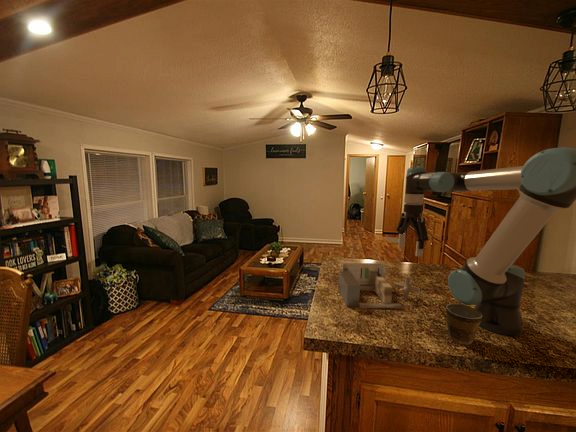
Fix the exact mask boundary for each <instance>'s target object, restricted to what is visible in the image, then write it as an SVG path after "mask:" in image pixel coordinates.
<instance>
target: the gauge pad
mask: <svg viewBox="0 0 576 432" xmlns="http://www.w3.org/2000/svg"><path fill="white" fill-rule="evenodd" d="M378 276H379V277H378ZM378 276H375V289H374V290H373V291H374V292H375V293H376V295H377V296H378V297H379V298H380V300H381V301H382V303H383V304H392V299H393V298H392V297H393V286H391V284H390V283H389V282H388V281H387V280H386V278H385V279H384V278H383V277H382V276H381V275H380V274H378Z"/></svg>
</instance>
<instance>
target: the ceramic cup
mask: <svg viewBox="0 0 576 432" xmlns="http://www.w3.org/2000/svg"><path fill="white" fill-rule="evenodd" d="M441 306H443V307H444V308H445V312H444V311H443V309H442V308H441ZM474 308H475V307H473V306H471V305H466V304H463V303H447V304H446V303H439V306H438V309H439V311H440V312H441V314H442V315H443V316H444V318H445V319H446V322H447V335H448V337H449V339H450V340H452V341H453V342H455V343H457V344H459V345H466V346H470V345H471V344H472V343H473V342H474V339H475V338H476V334H477V333H478V329H479V327H480V326H479V325H480V322H481V320H482V314H481V312H479V311H478V310H476V309H474Z"/></svg>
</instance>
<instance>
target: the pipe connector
mask: <svg viewBox="0 0 576 432" xmlns="http://www.w3.org/2000/svg"><path fill="white" fill-rule="evenodd" d="M394 287H396V288H400V289H402V290H401V292H402V293H403V299H405V300H409V296H410V295H409V294H410V291H412V292H415V293H420V291H421V288H420V287H417V286H413V283H412V282H411V276H410V275H406V276H405V282H404V283H400V282H394Z"/></svg>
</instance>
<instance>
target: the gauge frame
mask: <svg viewBox="0 0 576 432" xmlns="http://www.w3.org/2000/svg"><path fill="white" fill-rule="evenodd" d="M341 268H342V269H341V270H340V271H339V273H338V276H339V277H338V291H339V293H340V296H341V298H342V300H343V302H344V304H345V307H351V308H353V307H356V308H359V309H402V304H401V303H384V302H382V303H381V302H379V303H373V302H372V303H371V302H369V303H367V302H366V303H362V302H361V303H360V296H361V295H360V294H361V293H360V292H361V291H374V289H375V276H378V274H380V275H381V276H382V277H383V278H384V279H385V280H386V268H387V263H385V262H384V263H378V262H377V263H376V262H375V263H372V262H365V263H364V262H342V266H341ZM378 277H379V276H378Z"/></svg>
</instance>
